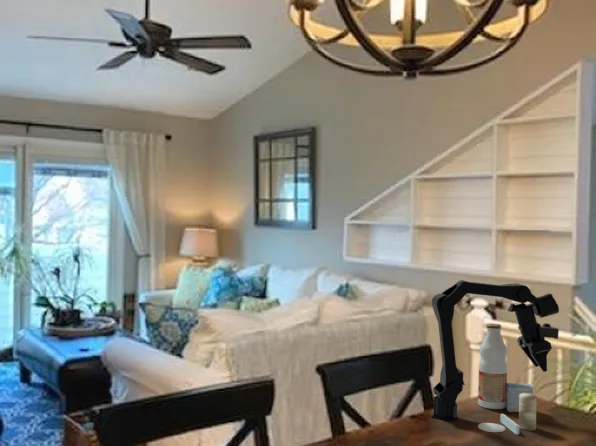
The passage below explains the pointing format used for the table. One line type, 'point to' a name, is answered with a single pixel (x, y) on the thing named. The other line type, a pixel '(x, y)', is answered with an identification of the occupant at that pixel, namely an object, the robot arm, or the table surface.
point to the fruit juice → (492, 370)
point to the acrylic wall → (509, 424)
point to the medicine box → (516, 395)
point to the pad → (491, 427)
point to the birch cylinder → (527, 411)
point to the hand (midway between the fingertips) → (541, 369)
